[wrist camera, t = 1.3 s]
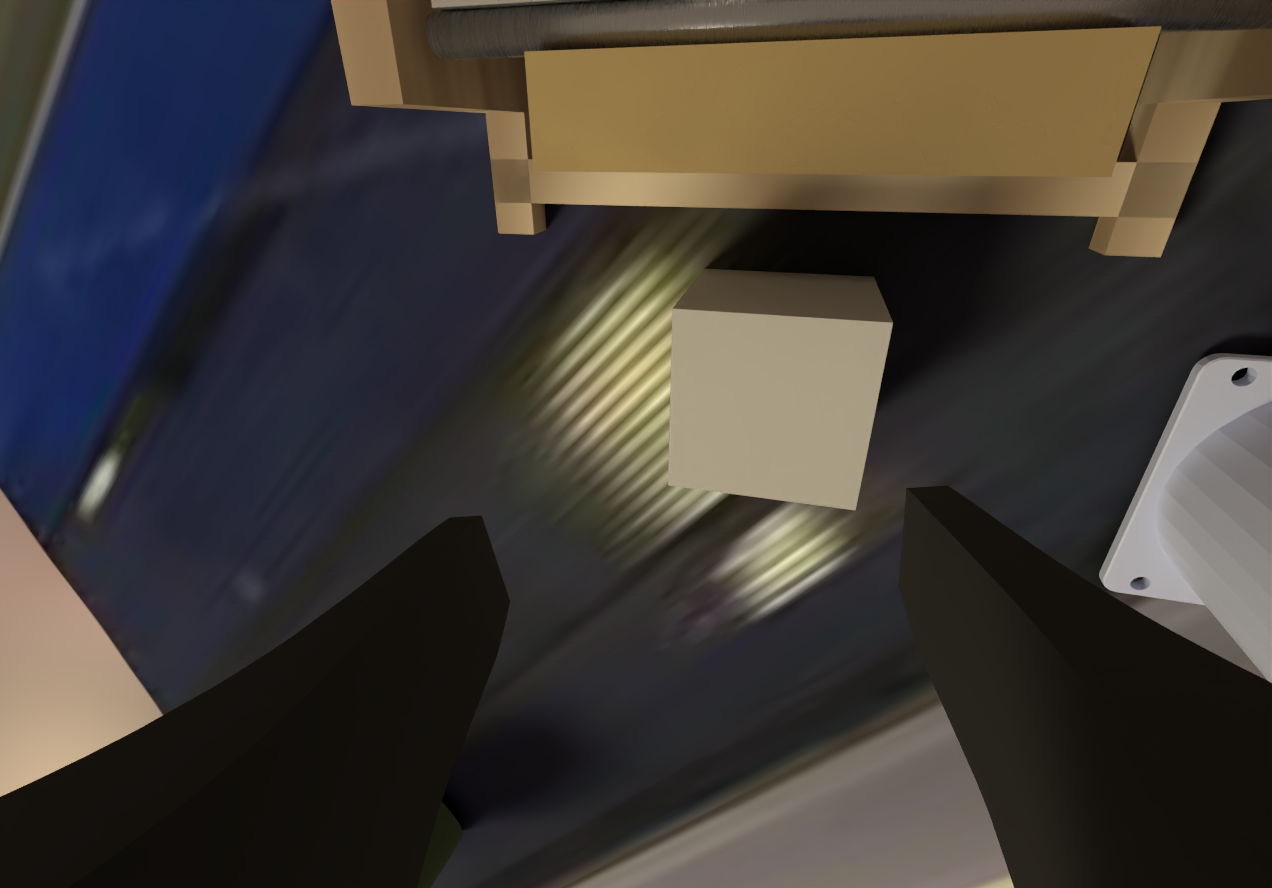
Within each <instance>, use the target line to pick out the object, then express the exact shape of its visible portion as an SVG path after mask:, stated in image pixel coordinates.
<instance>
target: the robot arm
mask: <svg viewBox="0 0 1272 888" xmlns="http://www.w3.org/2000/svg"><path fill="white" fill-rule="evenodd" d="M1242 368H1248V370H1247V373H1246V374H1245V376H1244V377H1243V378H1241V379H1239V380H1236V381H1231V379H1232V376H1233V374H1234V373H1235V372H1236V371H1238V370H1240V369H1242ZM1099 577H1100V579H1101V581H1102V583H1103V584H1104V586H1105V587H1106V588H1107V589H1109V590H1111V591H1114V592H1120V593H1126V594H1133V595H1140V596H1147V597H1153V598H1160V599H1167V600H1174V601H1180V602H1187V603H1194V604H1200V605H1206V606H1207V608H1208V609H1209V610H1210V611H1211V612H1212V614H1213V615H1214V616H1215V617H1216V618H1217V620H1218V621H1219V622H1220V623H1221V624H1222V626H1223V627H1224V628H1225V629H1226V631H1227V632H1228V633H1229V634H1230V635H1231V637H1232V638H1233V639H1234V640H1235V641H1236V643H1237V644H1238V645H1239V646H1240V647H1241V649H1242V650H1243V651H1244V652H1245V653H1246V655H1247V656H1248V657H1249V658H1250V659H1251V661H1252V662H1253V663H1254V664H1255V665H1256V667H1257V668H1258V669H1259V670H1260V671H1261V673H1262V674H1263V675H1264V676H1265V677H1266V679H1267V680H1268V681H1267V680H1265V679H1263V678H1261V677H1259V676H1257V675H1255V674H1253V673H1251V672H1249V671H1247V670H1245V669H1243V668H1241V667H1239V666H1237V665H1235V664H1233V663H1231V662H1229V661H1227V660H1226V659H1224V658H1222V657H1220V656H1218V655H1216V654H1214V653H1212V652H1210V651H1209V650H1207V649H1205V648H1203V647H1201V646H1199V645H1197V644H1195V643H1193V642H1192V641H1190V640H1188V639H1186V638H1184V637H1182V636H1180V635H1178V634H1176V633H1174V632H1173V631H1171V630H1169V629H1167V628H1166V627H1164V626H1162V625H1160V624H1158V623H1157V622H1155V621H1153V620H1151V619H1150V618H1148V617H1146V616H1144V615H1143V614H1141V613H1139V612H1138V611H1136V610H1134V609H1133V608H1131V607H1129V606H1128V605H1126V604H1124V603H1123V602H1121V601H1119V600H1118V599H1116V598H1114V597H1113V596H1111V595H1109V594H1108V593H1106V592H1105V591H1103V590H1101V589H1100V588H1098V587H1096V586H1095V585H1093V584H1091V583H1090V582H1088V581H1087V580H1085V579H1084V578H1082V577H1080V576H1079V575H1077V574H1076V573H1074V572H1073V571H1071V570H1070V569H1068V568H1066V567H1065V566H1063V565H1062V564H1060V563H1059V562H1057V561H1056V560H1054V559H1053V558H1051V557H1050V556H1048V555H1047V554H1045V553H1044V552H1042V551H1041V550H1039V549H1038V548H1036V547H1035V546H1034V545H1032V544H1031V543H1029V542H1028V541H1026V540H1025V539H1023V538H1022V537H1021V536H1019V535H1018V534H1016V533H1015V532H1013V531H1012V530H1010V529H1009V528H1008V527H1006V526H1005V525H1003V524H1002V523H1001V522H999V521H998V520H996V519H995V518H993V517H992V516H991V515H989V514H988V513H986V512H985V511H984V510H982V509H981V508H979V507H978V506H977V505H975V504H974V503H972V502H971V501H970V500H968V499H967V498H965V497H964V496H962V495H961V494H959V493H958V492H956V491H955V490H953V489H952V488H950V487H949V486H935V487H919V488H907V489H906V502H905V514H904V526H903V539H902V551H901V564H900V576H899V589H900V592H901V596H902V599H903V603H904V606H905V610H906V613H907V617H908V620H909V623H910V627H911V630H912V633H913V636H914V639H915V643H916V645H917V647H918V650H919V652H920V654H921V657H922V659H923V661H924V664H925V666H926V668H927V671H928V673H929V675H930V677H931V680H932V682H933V684H934V687H935V689H936V691H937V693H938V696H939V698H940V700H941V702H942V705H943V707H944V709H945V711H946V714H947V716H948V718H949V720H950V723H951V725H952V727H953V729H954V732H955V734H956V736H957V738H958V741H959V743H960V745H961V747H962V750H963V752H964V754H965V756H966V759H967V761H968V763H969V765H970V768H971V770H972V772H973V774H974V777H975V779H976V781H977V784H978V786H979V789H980V791H981V794H982V796H983V799H984V801H985V804H986V806H987V809H988V811H989V814H990V817H991V820H992V823H993V826H994V829H995V832H996V835H997V838H998V841H999V843H1000V846H1001V849H1002V852H1003V855H1004V858H1005V861H1006V864H1007V867H1008V870H1009V873H1010V876H1011V879H1012V882H1013V885H1014V888H1272V356H1258V355H1243V354H1228V353H1218V354H1212V355H1209V356H1206V357H1204V358H1203V359H1201V360H1200V361H1198V362H1197V363H1196V365H1195V366H1194V367H1193V369H1192V371H1191V373H1190V375H1189V377H1188V379H1187V382H1186V384H1185V386H1184V388H1183V390H1182V392H1181V395H1180V397H1179V399H1178V401H1177V403H1176V406H1175V408H1174V410H1173V412H1172V414H1171V417H1170V419H1169V421H1168V423H1167V425H1166V428H1165V430H1164V432H1163V434H1162V436H1161V439H1160V441H1159V443H1158V445H1157V447H1156V449H1155V452H1154V454H1153V456H1152V458H1151V460H1150V463H1149V465H1148V467H1147V469H1146V471H1145V474H1144V476H1143V478H1142V480H1141V482H1140V485H1139V487H1138V489H1137V491H1136V493H1135V496H1134V498H1133V500H1132V502H1131V504H1130V506H1129V509H1128V511H1127V513H1126V515H1125V517H1124V520H1123V522H1122V524H1121V526H1120V528H1119V531H1118V533H1117V535H1116V537H1115V539H1114V542H1113V544H1112V546H1111V548H1110V550H1109V552H1108V555H1107V557H1106V559H1105V561H1104V563H1103V566H1102V568H1101V570H1100V574H1099ZM1137 577H1144V578H1143V579H1142V580H1140V581H1137V582H1131V581H1132V580H1133V579H1135V578H1137ZM509 604H510V600H509V597H508V594H507V591H506V588H505V585H504V582H503V579H502V576H501V573H500V570H499V567H498V564H497V561H496V558H495V555H494V552H493V548H492V545H491V542H490V539H489V536H488V533H487V530H486V527H485V524H484V521H483V518H482V516H469V517H453V518H449V519H447V520H446V521H444V522H443V523H441V524H440V525H438V526H437V527H436V528H434V529H433V530H432V531H430V532H429V533H428V534H426V535H425V536H424V537H422V538H421V539H420V540H418V541H417V542H416V543H415V544H413V545H412V546H411V547H410V548H408V549H407V550H406V551H404V552H403V553H402V554H401V555H399V556H398V557H397V558H396V559H394V560H393V561H392V562H391V563H389V564H388V565H387V566H386V567H384V568H383V569H382V570H380V571H379V572H378V573H377V574H375V575H374V576H373V577H372V578H370V579H369V580H368V581H366V582H365V583H364V584H363V585H361V586H360V587H359V588H358V589H356V590H355V591H354V592H352V593H351V594H350V595H348V596H347V597H346V598H344V599H343V600H342V601H340V602H339V603H337V604H336V605H335V606H333V607H332V608H331V609H329V610H328V611H327V612H325V613H324V614H322V615H321V616H320V617H318V618H317V619H316V620H314V621H313V622H312V623H310V624H309V625H307V626H306V627H305V628H303V629H302V630H301V631H299V632H298V633H297V634H295V635H294V636H292V637H291V638H289V639H288V640H286V641H285V642H284V643H282V644H281V645H279V646H278V647H276V648H275V649H273V650H272V651H270V652H269V653H267V654H266V655H264V656H262V657H261V658H259V659H258V660H256V661H255V662H253V663H251V664H250V665H248V666H247V667H245V668H244V669H242V670H240V671H239V672H237V673H236V674H234V675H232V676H231V677H229V678H228V679H226V680H224V681H223V682H221V683H219V684H218V685H216V686H214V687H213V688H211V689H209V690H207V691H206V692H204V693H202V694H200V695H199V696H197V697H195V698H193V699H192V700H190V701H188V702H186V703H184V704H183V705H181V706H179V707H177V708H176V709H174V710H172V711H170V712H168V713H167V714H165V715H163V716H161V717H160V718H158V719H156V720H154V721H153V722H151V723H149V724H148V725H145V726H144V727H142V728H140V729H138V730H136V731H134V732H132V733H131V734H129V735H127V736H125V737H123V738H121V739H119V740H117V741H115V742H113V743H111V744H109V745H107V746H105V747H103V748H101V749H99V750H97V751H96V752H94V753H92V754H90V755H88V756H86V757H84V758H82V759H79V760H77V761H75V762H73V763H71V764H69V765H67V766H65V767H63V768H61V769H59V770H57V771H55V772H53V773H51V774H49V775H47V776H44V777H42V778H41V779H38V780H36V781H34V782H32V783H30V784H27V785H25V786H23V787H21V788H19V789H17V790H14V791H13V792H10V793H8V794H6V795H3V796H1V797H0V888H417V887H418V883H419V879H420V875H421V871H422V867H423V864H424V860H425V857H426V853H427V850H428V846H429V843H430V839H431V836H432V832H433V829H434V825H435V822H436V818H437V815H438V811H439V808H440V804H441V801H442V798H443V795H444V793H445V790H446V787H447V784H448V781H449V778H450V775H451V773H452V770H453V768H454V765H455V762H456V760H457V757H458V755H459V752H460V750H461V747H462V745H463V742H464V739H465V737H466V734H467V732H468V729H469V727H470V724H471V722H472V719H473V716H474V714H475V711H476V709H477V706H478V704H479V701H480V699H481V696H482V693H483V691H484V688H485V686H486V683H487V680H488V678H489V675H490V672H491V670H492V667H493V664H494V662H495V659H496V656H497V654H498V650H499V646H500V642H501V638H502V634H503V630H504V626H505V622H506V617H507V613H508V608H509Z"/></svg>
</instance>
